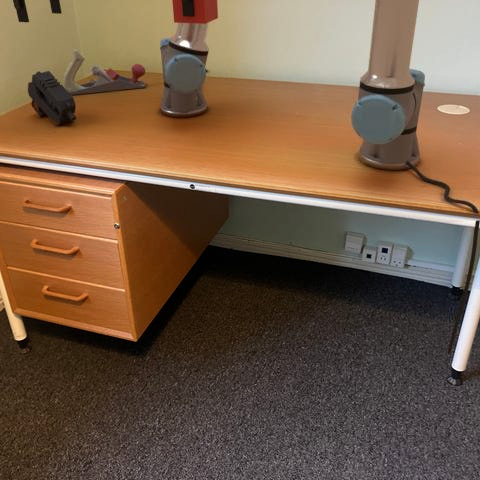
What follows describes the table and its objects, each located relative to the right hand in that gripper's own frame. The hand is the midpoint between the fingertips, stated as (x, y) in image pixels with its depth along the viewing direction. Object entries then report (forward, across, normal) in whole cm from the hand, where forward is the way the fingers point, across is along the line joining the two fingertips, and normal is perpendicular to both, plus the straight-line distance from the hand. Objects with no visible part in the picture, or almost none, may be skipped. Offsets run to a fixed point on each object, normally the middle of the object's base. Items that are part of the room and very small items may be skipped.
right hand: (196, 13), depth 130 cm
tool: (+35, -7, -54) cm, 65 cm away
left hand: (+2, +2, -44) cm, 45 cm away
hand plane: (+34, -41, -58) cm, 79 cm away
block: (+2, 0, 0) cm, 2 cm away
